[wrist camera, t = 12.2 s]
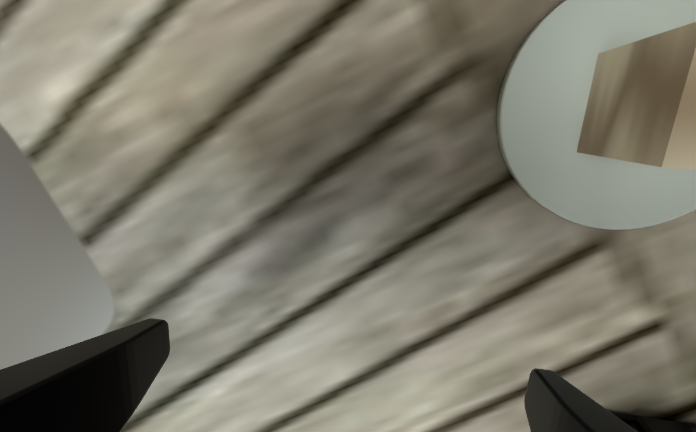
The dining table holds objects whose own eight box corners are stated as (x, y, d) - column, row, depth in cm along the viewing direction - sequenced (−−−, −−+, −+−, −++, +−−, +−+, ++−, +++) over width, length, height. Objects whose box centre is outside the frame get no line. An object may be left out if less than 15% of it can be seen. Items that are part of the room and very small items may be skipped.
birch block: (675, 158, 17) (812, 178, 12) (576, 152, 18) (661, 167, 12) (705, 57, 16) (873, 23, 11) (598, 53, 17) (703, 19, 11)
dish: (713, 233, 19) (733, 240, 18) (480, 212, 20) (484, 218, 19) (802, -25, 16) (833, -36, 15) (519, -31, 17) (528, -41, 16)
